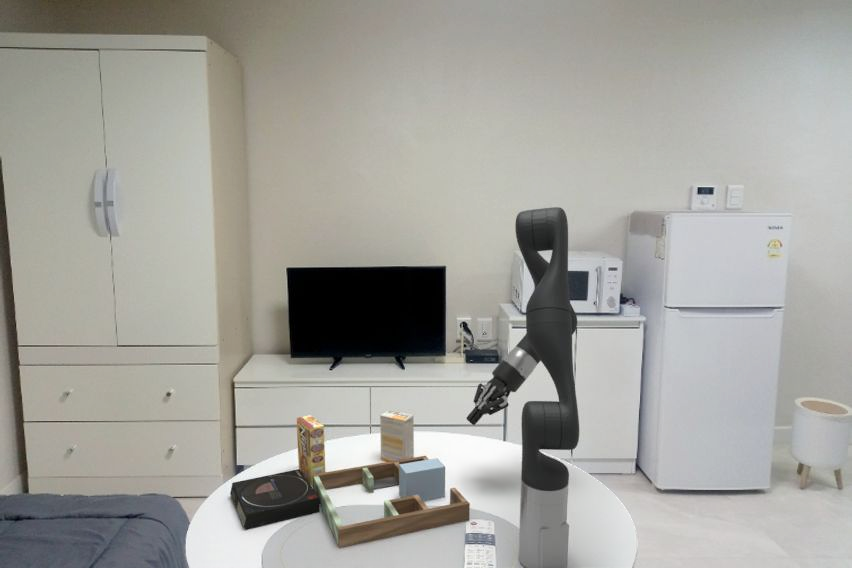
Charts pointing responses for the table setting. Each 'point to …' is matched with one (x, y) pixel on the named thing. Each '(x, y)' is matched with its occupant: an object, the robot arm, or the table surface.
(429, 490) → the brick
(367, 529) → the frame
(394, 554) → the table surface
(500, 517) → the table surface
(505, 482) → the table surface
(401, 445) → the supplement box
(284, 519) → the portable cd player
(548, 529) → the robot arm
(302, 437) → the candy box
